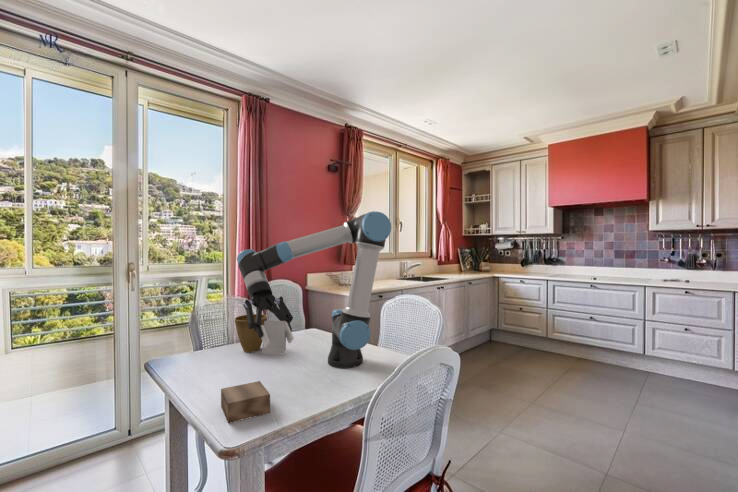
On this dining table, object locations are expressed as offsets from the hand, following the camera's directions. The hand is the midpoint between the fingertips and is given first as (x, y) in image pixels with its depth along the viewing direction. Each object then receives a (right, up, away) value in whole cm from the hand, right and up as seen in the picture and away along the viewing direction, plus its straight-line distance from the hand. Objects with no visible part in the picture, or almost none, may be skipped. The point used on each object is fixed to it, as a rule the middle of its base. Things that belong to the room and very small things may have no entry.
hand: (279, 342), depth 113 cm
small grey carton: (-2, -4, +3) cm, 5 cm away
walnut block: (-10, -20, -3) cm, 23 cm away
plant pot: (-28, -20, +58) cm, 67 cm away
